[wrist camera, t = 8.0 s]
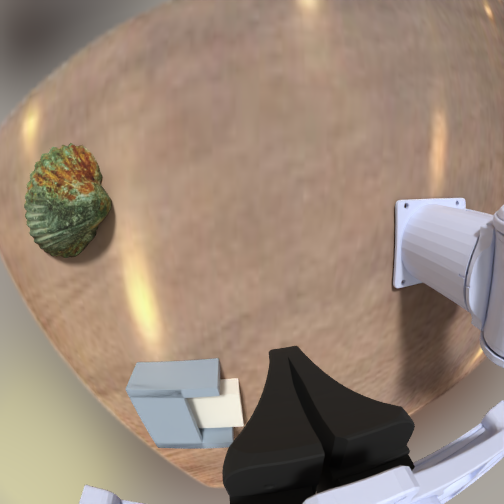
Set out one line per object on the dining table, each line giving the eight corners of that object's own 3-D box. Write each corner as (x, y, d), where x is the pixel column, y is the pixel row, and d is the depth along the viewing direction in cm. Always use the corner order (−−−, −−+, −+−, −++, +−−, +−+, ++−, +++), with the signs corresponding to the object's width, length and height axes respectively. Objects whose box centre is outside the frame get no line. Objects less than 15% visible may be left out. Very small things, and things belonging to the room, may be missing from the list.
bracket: (218, 358, 23) (217, 387, 19) (232, 419, 26) (233, 446, 22) (137, 362, 23) (125, 389, 19) (163, 421, 25) (157, 447, 21)
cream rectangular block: (237, 375, 24) (239, 393, 22) (242, 408, 26) (243, 426, 23) (158, 378, 24) (153, 395, 22) (169, 410, 25) (166, 427, 23)
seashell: (6, 141, 13) (101, 148, 14) (35, 140, 17) (124, 149, 18) (3, 257, 16) (89, 288, 18) (28, 243, 20) (109, 267, 21)
